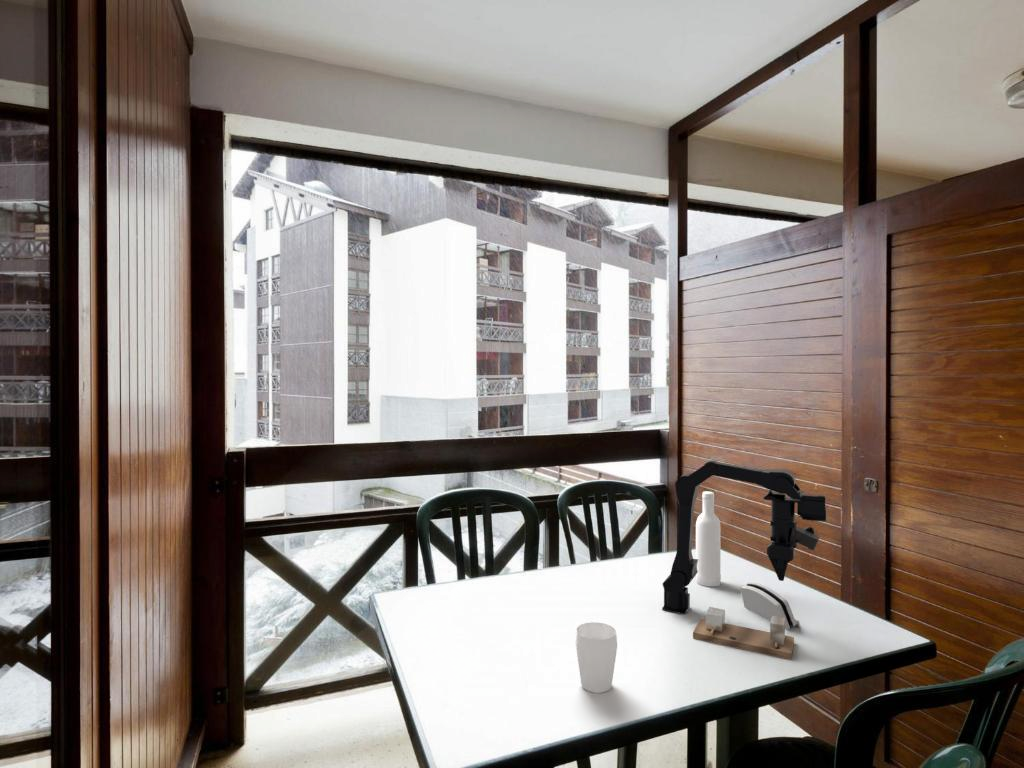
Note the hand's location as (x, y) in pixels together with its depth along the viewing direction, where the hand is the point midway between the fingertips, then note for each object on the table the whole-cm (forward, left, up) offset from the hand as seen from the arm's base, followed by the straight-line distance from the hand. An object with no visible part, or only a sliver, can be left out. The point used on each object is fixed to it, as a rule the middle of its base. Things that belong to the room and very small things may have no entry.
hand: (782, 575), depth 153 cm
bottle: (-24, +27, -15) cm, 39 cm away
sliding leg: (-15, -12, -13) cm, 24 cm away
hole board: (-8, -12, -15) cm, 21 cm away
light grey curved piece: (-4, +7, -15) cm, 17 cm away
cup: (-33, -51, -15) cm, 63 cm away
